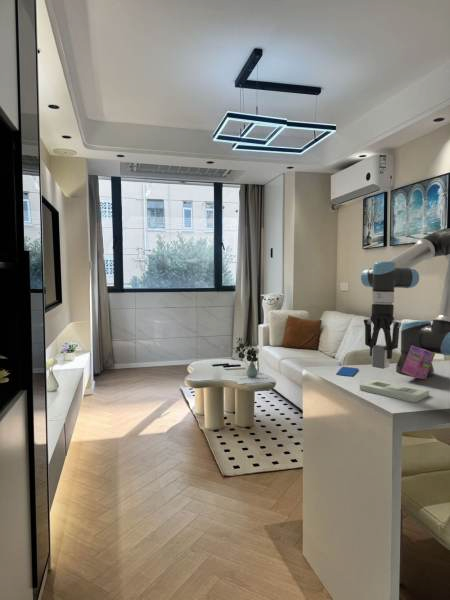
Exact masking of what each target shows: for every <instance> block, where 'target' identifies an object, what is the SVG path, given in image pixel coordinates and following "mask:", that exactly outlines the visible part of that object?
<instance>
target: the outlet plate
mask: <svg viewBox="0 0 450 600" xmlns="http://www.w3.org/2000/svg"><path fill="white" fill-rule="evenodd" d="M359 391H363V392H367V393H372V394H376V395H381V396H386V397H389V398H393V399H394V398H395V399H398V400H402V401H407V402H411V403H417V402H419V401H421V400H423V399H425V398H427V397H429V396H430V389H427V388H421V387H416V386H411V385H406V384H401V383H396V382H391V381H385V380H382V379H376V378H375V379H373V380H369V381H366V382H364V383H361V384H359Z"/></svg>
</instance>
